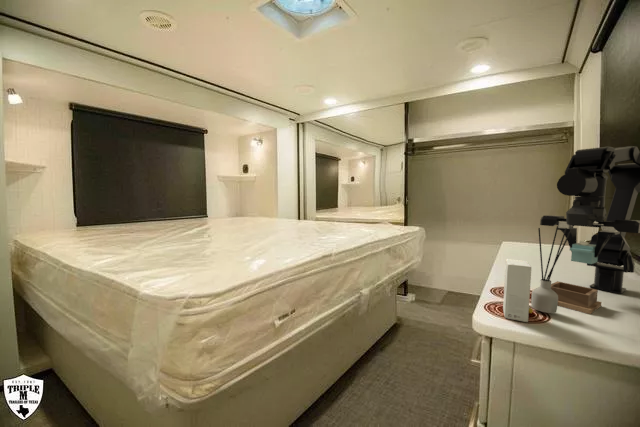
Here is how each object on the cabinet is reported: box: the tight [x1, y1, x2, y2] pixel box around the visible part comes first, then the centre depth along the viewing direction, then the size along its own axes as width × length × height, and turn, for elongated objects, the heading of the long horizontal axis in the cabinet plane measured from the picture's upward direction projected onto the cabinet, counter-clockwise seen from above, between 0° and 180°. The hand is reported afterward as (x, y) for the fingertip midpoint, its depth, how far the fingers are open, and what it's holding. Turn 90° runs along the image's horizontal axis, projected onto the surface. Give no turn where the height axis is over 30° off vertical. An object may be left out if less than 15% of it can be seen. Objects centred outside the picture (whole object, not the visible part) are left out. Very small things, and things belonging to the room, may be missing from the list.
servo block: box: [569, 240, 598, 265], centre depth 73 cm, size 9×4×5 cm, turn 123°
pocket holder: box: [551, 280, 602, 315], centre depth 69 cm, size 9×9×4 cm
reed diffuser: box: [529, 225, 571, 314], centre depth 62 cm, size 10×7×20 cm
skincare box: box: [502, 258, 532, 323], centre depth 61 cm, size 6×4×12 cm
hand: (584, 255), depth 73 cm, fingers closed on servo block, 4 cm apart
